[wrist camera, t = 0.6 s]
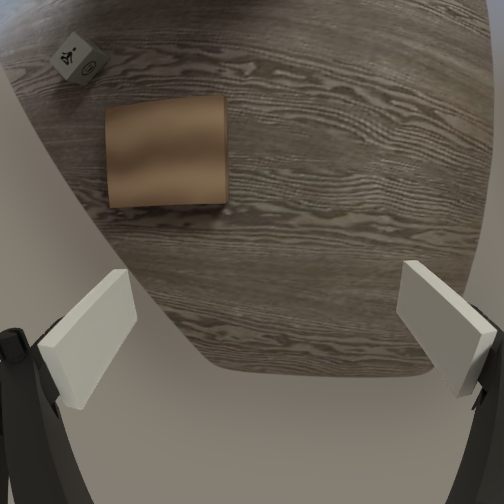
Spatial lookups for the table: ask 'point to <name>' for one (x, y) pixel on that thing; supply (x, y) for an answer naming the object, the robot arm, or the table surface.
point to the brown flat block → (168, 152)
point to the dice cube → (78, 59)
